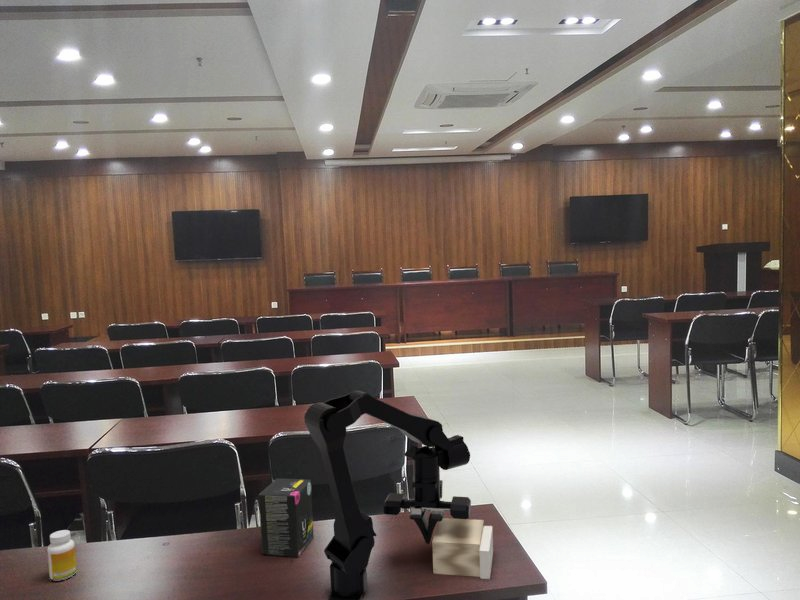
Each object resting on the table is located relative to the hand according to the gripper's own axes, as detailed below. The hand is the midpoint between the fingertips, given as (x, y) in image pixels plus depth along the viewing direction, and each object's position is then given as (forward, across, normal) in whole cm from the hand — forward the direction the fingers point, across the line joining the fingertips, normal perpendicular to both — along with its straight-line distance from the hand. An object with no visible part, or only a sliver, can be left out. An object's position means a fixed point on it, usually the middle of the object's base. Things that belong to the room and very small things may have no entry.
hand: (428, 543), depth 137 cm
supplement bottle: (+5, +79, +17) cm, 81 cm away
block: (+4, -7, -1) cm, 8 cm away
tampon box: (+5, +34, -3) cm, 35 cm away
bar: (+4, -13, 0) cm, 13 cm away
